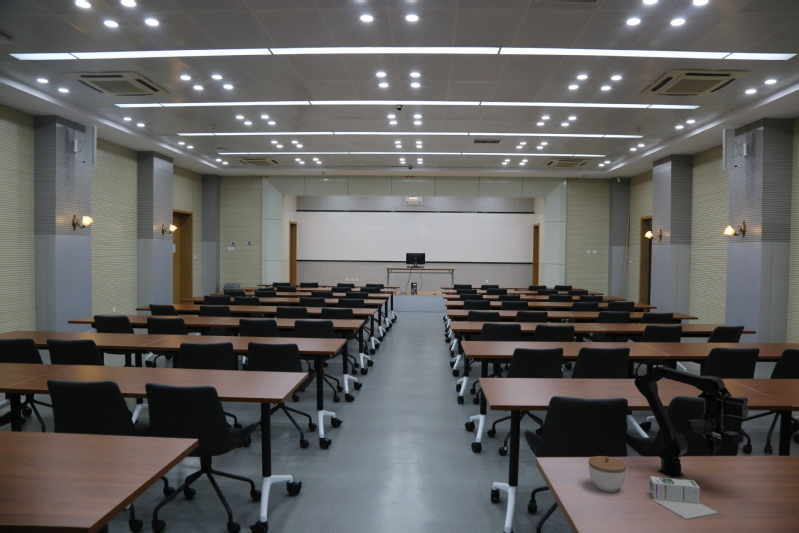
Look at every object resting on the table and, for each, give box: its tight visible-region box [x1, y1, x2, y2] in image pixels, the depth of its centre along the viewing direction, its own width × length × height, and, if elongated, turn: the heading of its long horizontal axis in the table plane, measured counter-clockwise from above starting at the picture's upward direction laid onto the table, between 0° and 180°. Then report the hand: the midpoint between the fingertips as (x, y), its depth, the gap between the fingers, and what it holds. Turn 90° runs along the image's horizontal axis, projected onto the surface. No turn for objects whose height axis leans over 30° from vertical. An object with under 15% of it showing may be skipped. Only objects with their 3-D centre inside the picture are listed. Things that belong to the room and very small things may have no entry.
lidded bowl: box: [588, 455, 627, 493], centre depth 179 cm, size 13×13×11 cm
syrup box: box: [648, 475, 701, 503], centre depth 171 cm, size 6×6×14 cm
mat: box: [649, 497, 719, 520], centre depth 165 cm, size 14×14×1 cm
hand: (713, 454), depth 180 cm, fingers closed
